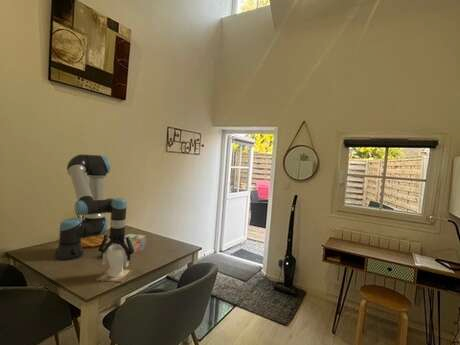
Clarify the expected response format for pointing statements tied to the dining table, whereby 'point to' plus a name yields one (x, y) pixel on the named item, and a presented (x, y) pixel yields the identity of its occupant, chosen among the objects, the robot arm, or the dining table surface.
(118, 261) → the cup
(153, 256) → the dining table surface
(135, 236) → the stack of blocks
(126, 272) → the picture frame
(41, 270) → the dining table surface
